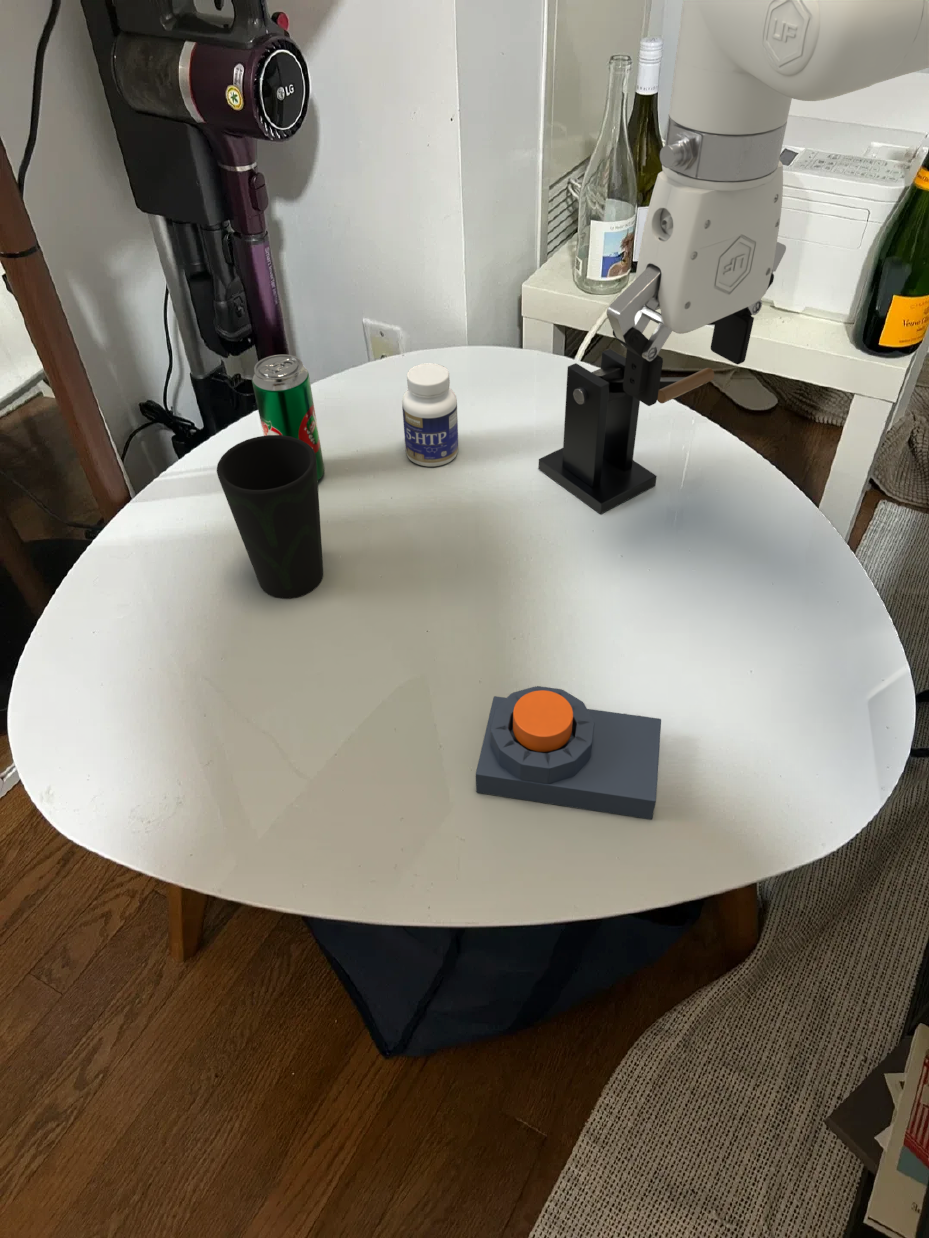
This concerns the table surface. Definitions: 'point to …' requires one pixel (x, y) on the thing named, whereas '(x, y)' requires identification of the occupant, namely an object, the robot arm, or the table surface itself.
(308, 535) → the cup
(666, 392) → the lever
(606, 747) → the control block
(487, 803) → the table surface
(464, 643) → the table surface
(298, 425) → the soda can
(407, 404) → the pill bottle
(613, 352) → the switch bracket
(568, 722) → the button
